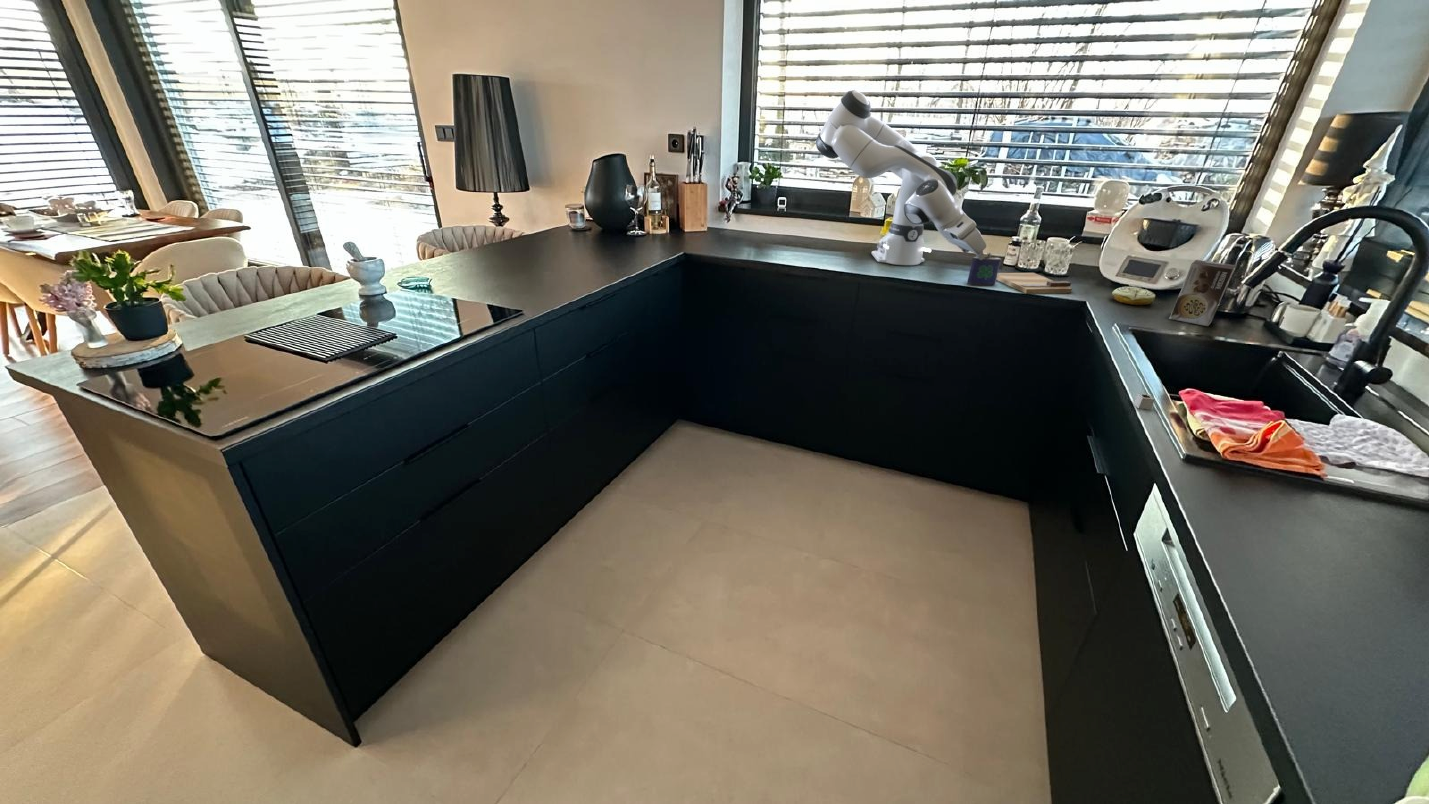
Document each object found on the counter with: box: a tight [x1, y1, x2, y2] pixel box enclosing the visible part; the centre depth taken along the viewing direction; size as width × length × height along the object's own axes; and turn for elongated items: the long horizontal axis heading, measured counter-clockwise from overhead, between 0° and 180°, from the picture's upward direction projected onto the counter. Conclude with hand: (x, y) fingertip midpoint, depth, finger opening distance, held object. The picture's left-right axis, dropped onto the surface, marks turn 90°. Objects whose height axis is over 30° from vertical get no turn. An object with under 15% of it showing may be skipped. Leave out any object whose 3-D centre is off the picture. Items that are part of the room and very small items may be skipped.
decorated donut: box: [1111, 286, 1156, 306], centre depth 173 cm, size 10×11×4 cm
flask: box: [966, 252, 1002, 287], centre depth 185 cm, size 9×3×11 cm, turn 87°
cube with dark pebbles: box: [1133, 393, 1156, 411], centre depth 109 cm, size 2×2×2 cm
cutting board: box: [996, 272, 1073, 295], centre depth 188 cm, size 20×16×2 cm
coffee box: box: [1168, 259, 1237, 327], centre depth 154 cm, size 9×6×16 cm
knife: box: [1022, 280, 1072, 287], centre depth 182 cm, size 2×16×1 cm, turn 97°
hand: (974, 254), depth 182 cm, fingers open, 8 cm apart
